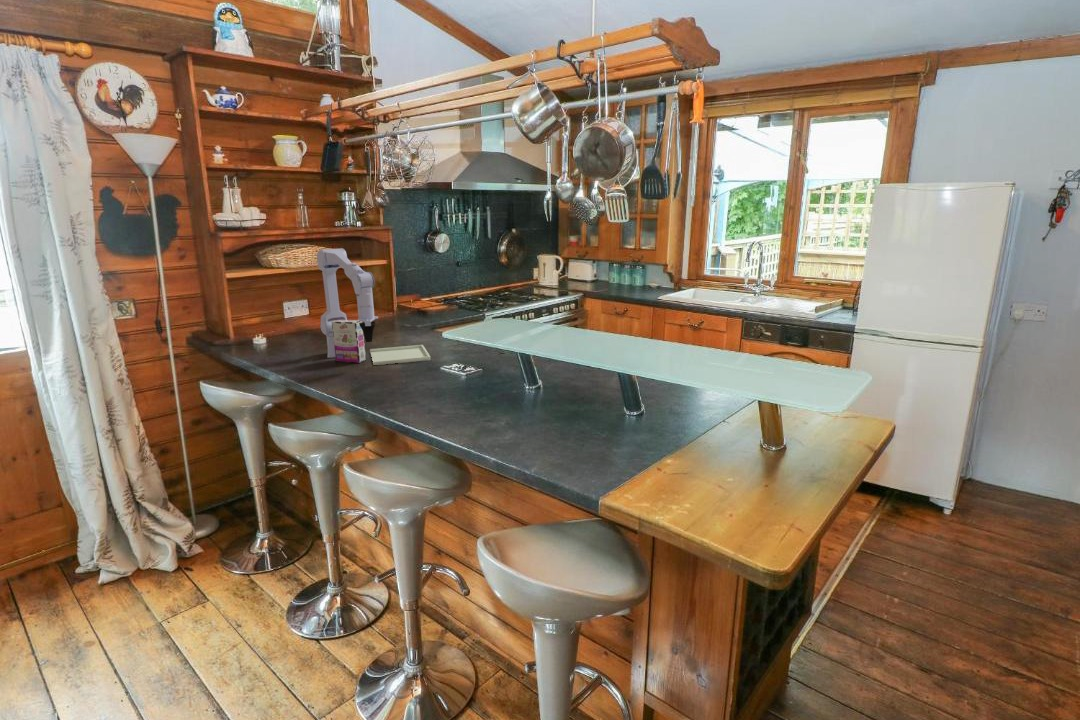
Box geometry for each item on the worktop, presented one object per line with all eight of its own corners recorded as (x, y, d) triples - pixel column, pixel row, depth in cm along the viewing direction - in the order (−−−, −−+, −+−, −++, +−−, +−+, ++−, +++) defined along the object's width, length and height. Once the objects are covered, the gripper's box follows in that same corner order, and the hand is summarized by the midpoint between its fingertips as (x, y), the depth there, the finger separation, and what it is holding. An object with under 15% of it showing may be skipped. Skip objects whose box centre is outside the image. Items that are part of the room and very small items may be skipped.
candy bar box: (366, 360, 236) (363, 320, 231) (359, 363, 231) (355, 322, 227) (342, 358, 239) (338, 318, 235) (335, 361, 234) (330, 321, 230)
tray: (370, 352, 247) (370, 349, 247) (423, 348, 254) (422, 344, 254) (373, 365, 227) (373, 362, 227) (430, 360, 234) (430, 356, 234)
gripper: (378, 308, 213) (381, 344, 216) (375, 302, 226) (378, 336, 229) (357, 309, 210) (361, 346, 214) (356, 303, 224) (359, 338, 227)
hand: (368, 341), depth 222 cm, fingers closed
